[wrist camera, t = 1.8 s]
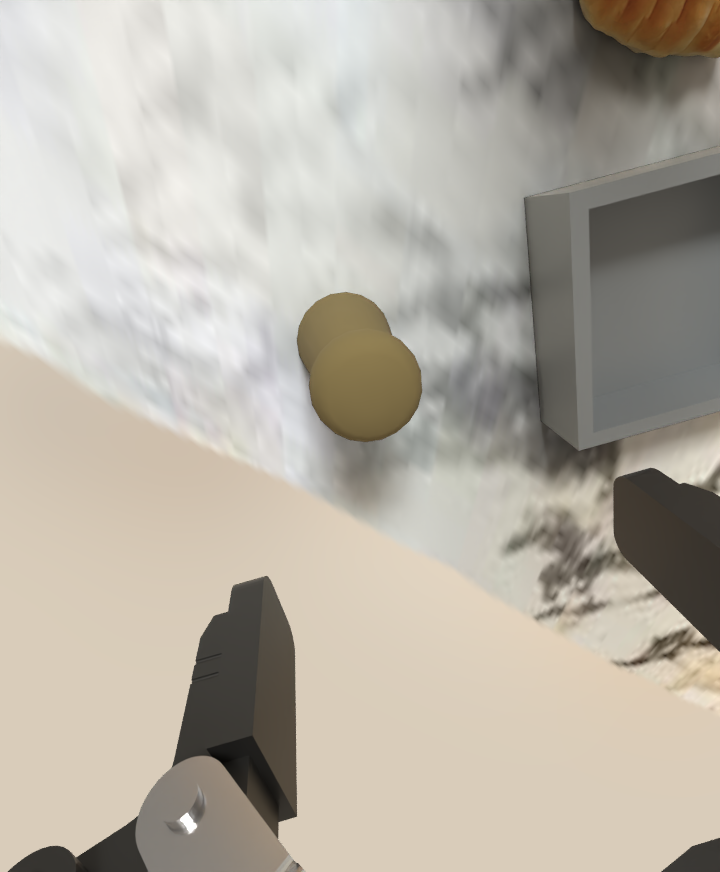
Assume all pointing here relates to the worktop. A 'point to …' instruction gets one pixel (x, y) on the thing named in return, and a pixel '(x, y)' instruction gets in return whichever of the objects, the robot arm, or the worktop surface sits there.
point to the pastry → (659, 25)
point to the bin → (627, 299)
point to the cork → (357, 368)
